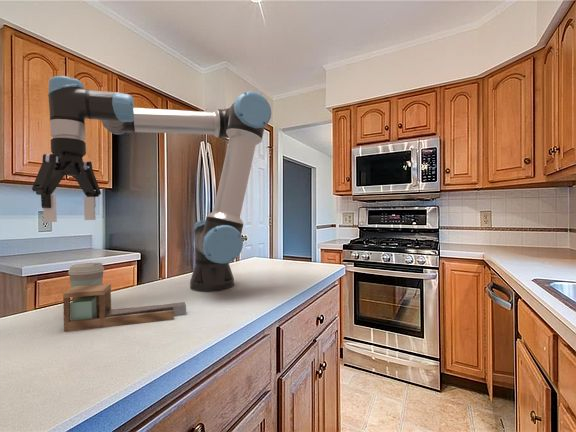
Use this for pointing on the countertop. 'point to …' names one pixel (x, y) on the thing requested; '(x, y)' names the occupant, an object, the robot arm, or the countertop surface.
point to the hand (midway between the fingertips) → (71, 221)
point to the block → (83, 308)
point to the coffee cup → (86, 274)
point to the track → (104, 310)
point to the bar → (151, 309)
